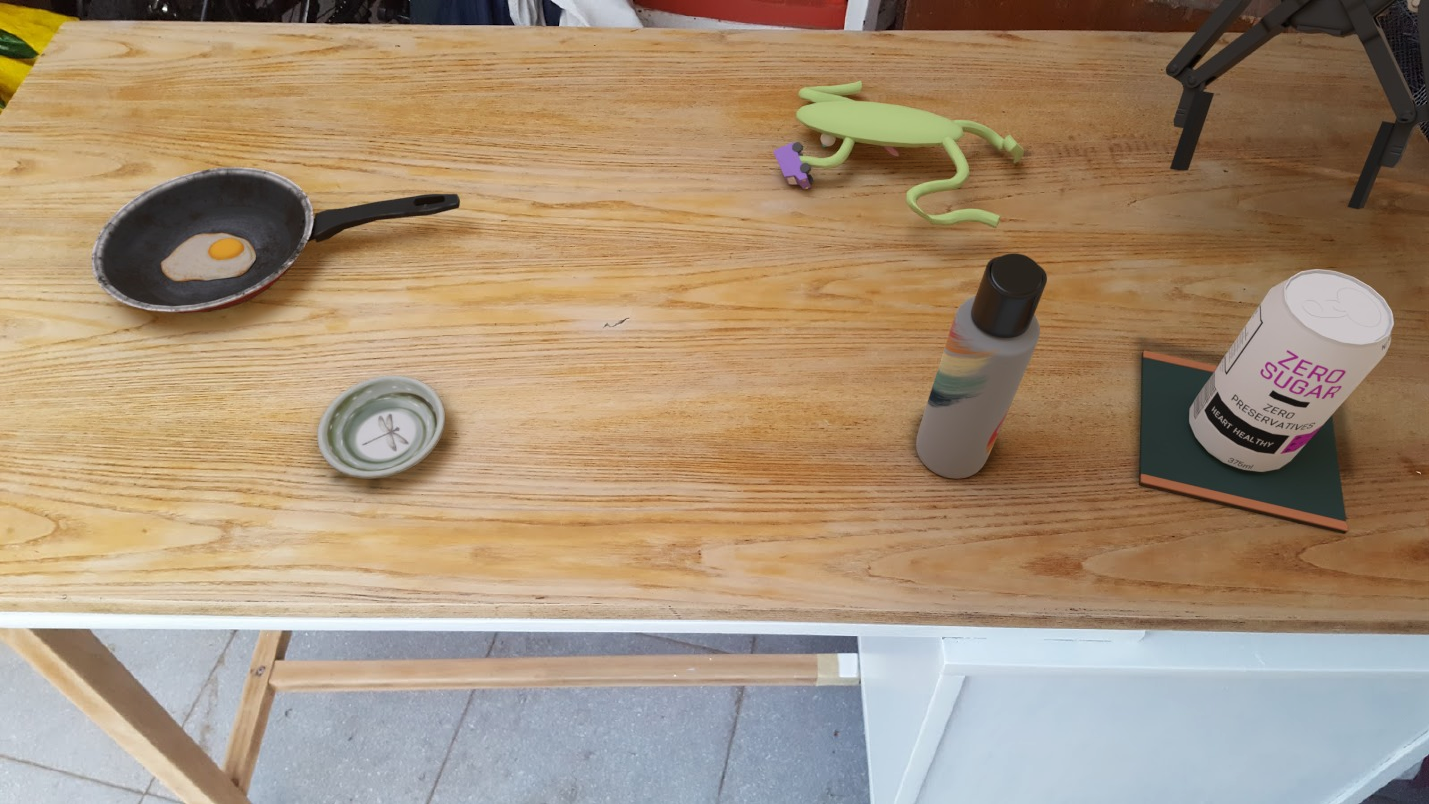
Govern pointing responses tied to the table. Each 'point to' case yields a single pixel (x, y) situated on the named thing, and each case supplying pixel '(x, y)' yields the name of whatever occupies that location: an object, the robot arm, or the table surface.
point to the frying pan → (223, 237)
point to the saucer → (381, 427)
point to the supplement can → (1291, 369)
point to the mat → (1192, 471)
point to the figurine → (886, 142)
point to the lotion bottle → (981, 367)
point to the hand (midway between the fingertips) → (1262, 188)
